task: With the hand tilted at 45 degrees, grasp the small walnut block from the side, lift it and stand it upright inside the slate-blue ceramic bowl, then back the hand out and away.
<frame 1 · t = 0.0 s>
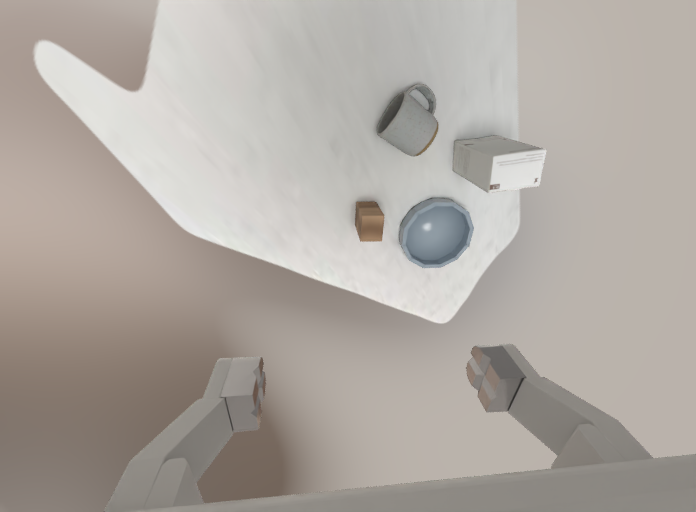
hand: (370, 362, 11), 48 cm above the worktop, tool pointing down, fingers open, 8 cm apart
walnut block: (365, 213, 59), on the worktop
slate bowl: (432, 231, 63), on the worktop
skincare box: (471, 154, 56), on the worktop
ceramic mug: (405, 117, 52), on the worktop
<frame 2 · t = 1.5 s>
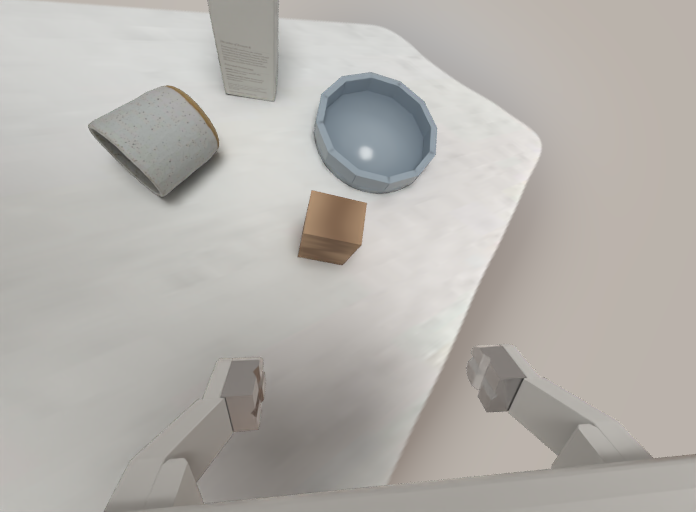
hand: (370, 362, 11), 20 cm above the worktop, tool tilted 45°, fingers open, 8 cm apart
walnut block: (323, 243, 33), on the worktop
slate bowl: (372, 140, 37), on the worktop
skincare box: (254, 75, 36), on the worktop
ceramic mug: (164, 156, 31), on the worktop
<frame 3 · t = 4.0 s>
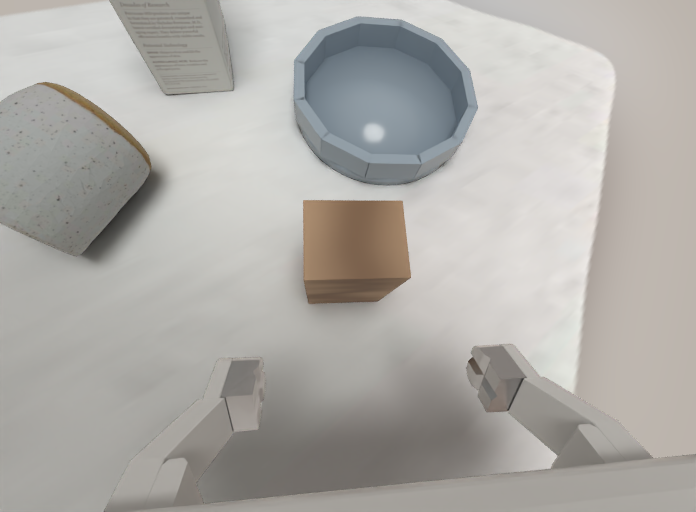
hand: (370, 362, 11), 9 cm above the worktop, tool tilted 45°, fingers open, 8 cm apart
walnut block: (342, 275, 22), on the worktop
slate bowl: (379, 112, 26), on the worktop
skincare box: (200, 62, 26), on the worktop
ceramic mug: (84, 195, 22), on the worktop
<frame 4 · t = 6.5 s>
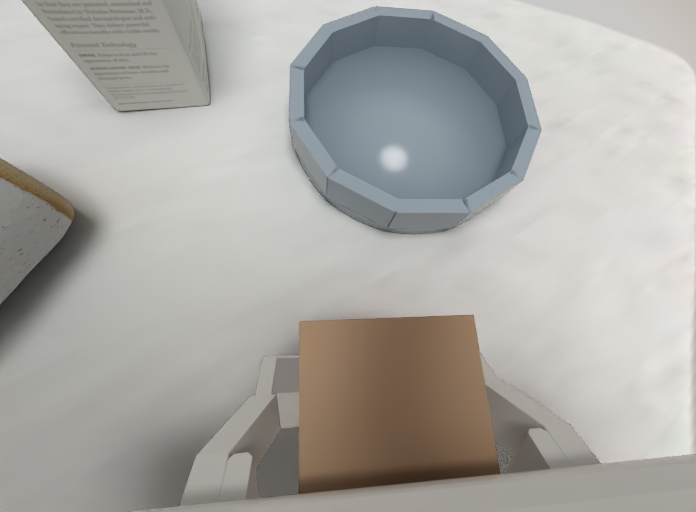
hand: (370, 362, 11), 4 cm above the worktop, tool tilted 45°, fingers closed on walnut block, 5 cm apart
walnut block: (357, 370, 15), on the worktop, touching gripper
slate bowl: (403, 133, 20), on the worktop
skincare box: (167, 68, 20), on the worktop
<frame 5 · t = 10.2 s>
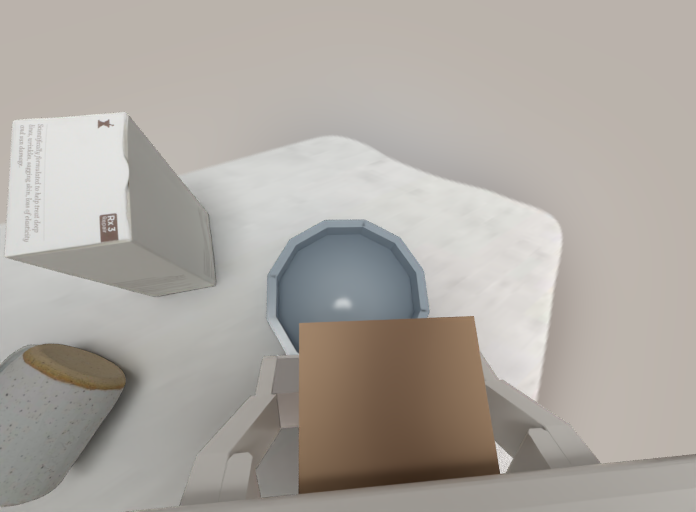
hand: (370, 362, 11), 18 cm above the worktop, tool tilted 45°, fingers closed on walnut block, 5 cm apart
walnut block: (357, 371, 15), point 13 cm above the worktop, touching gripper
slate bowl: (346, 298, 30), on the worktop
skincare box: (186, 256, 29), on the worktop
ceramic mug: (68, 398, 25), on the worktop
when the fingers open (6 cm above the worktop, at t = 14.2 s): walnut block stays where it is, resting on slate bowl.
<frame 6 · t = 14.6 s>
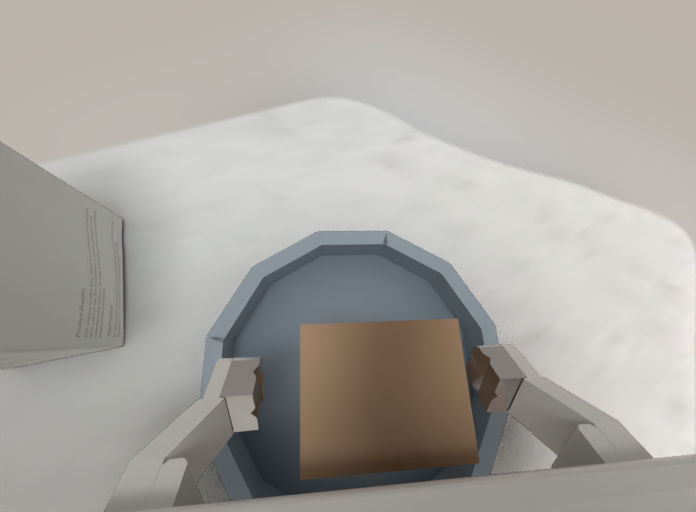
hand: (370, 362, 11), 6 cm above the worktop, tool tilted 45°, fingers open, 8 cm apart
walnut block: (354, 369, 16), point 1 cm above the worktop, touching slate bowl
slate bowl: (353, 367, 17), on the worktop
skincare box: (78, 291, 17), on the worktop
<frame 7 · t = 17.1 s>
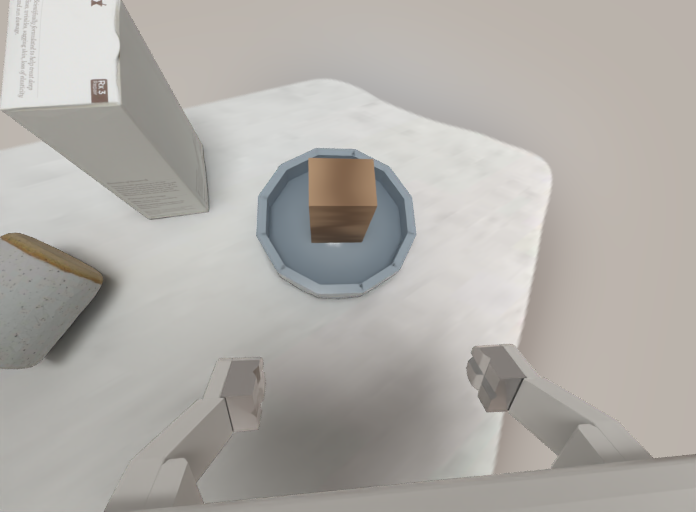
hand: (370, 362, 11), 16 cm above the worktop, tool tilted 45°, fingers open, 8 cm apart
walnut block: (336, 224, 29), point 1 cm above the worktop, touching slate bowl
slate bowl: (336, 227, 30), on the worktop
skincare box: (180, 184, 30), on the worktop
ceramic mug: (48, 300, 26), on the worktop
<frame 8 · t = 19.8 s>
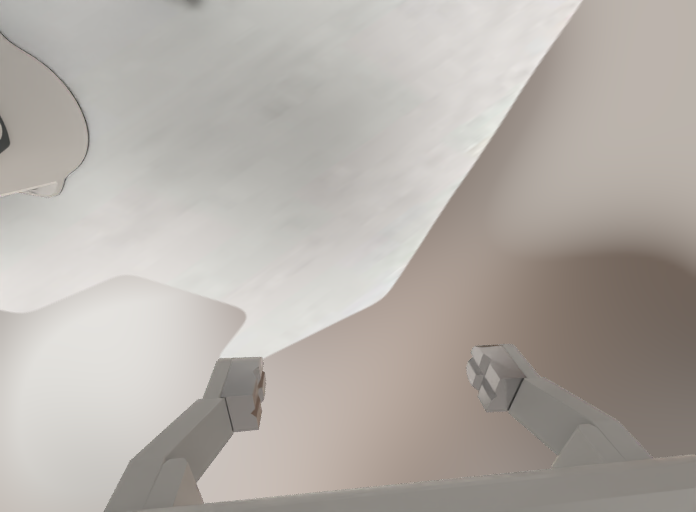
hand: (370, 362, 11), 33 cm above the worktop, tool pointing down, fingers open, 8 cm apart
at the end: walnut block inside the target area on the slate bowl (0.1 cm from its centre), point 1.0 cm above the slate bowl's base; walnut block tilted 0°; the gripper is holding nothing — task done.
